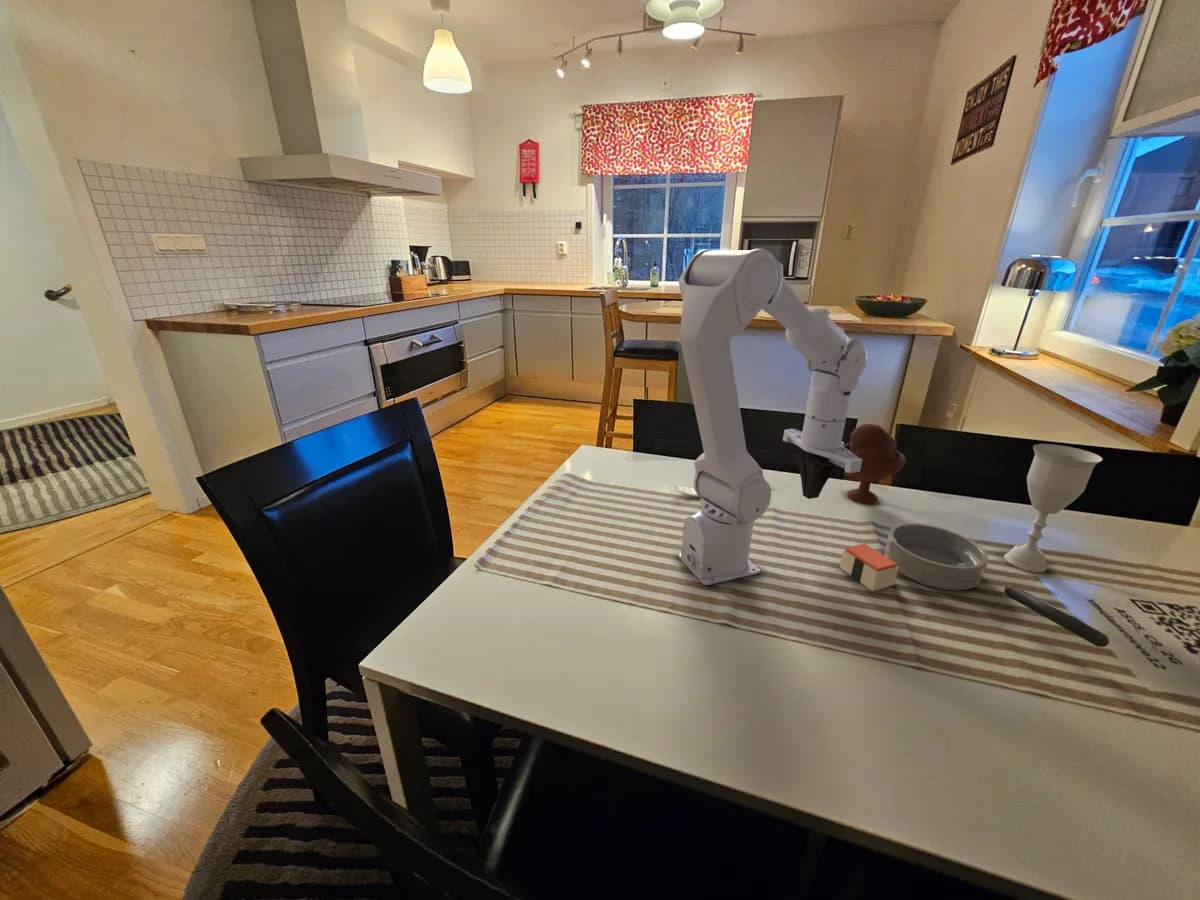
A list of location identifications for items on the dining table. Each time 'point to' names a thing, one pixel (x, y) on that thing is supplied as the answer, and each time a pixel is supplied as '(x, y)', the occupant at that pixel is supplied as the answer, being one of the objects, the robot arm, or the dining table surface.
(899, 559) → the pan
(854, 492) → the ice cream bowl
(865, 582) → the sushi
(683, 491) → the cooking utensil
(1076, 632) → the pan handle
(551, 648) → the dining table surface
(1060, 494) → the chalice
